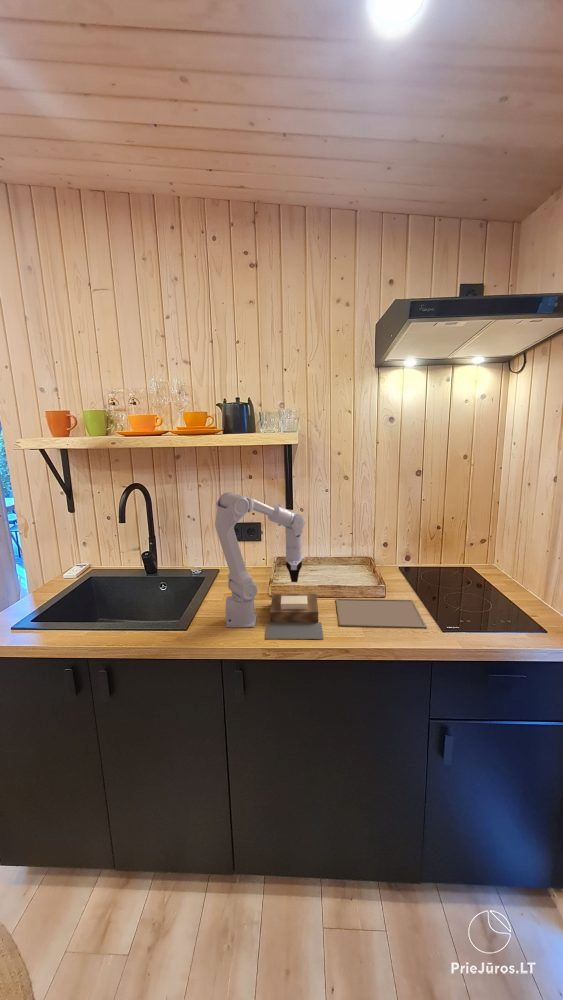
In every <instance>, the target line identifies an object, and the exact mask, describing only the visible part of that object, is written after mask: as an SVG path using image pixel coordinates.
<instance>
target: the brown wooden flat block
mask: <svg viewBox="0 0 563 1000" xmlns="http://www.w3.org/2000/svg"><path fill="white" fill-rule="evenodd" d="M271 596H272V597H271V603H270V610H269V614H270V615H269V616H270V617H269V619H270V621H269V622H319V605H318V596H317V593H272V595H271ZM281 596H307V602H308V609H281Z"/></svg>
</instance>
